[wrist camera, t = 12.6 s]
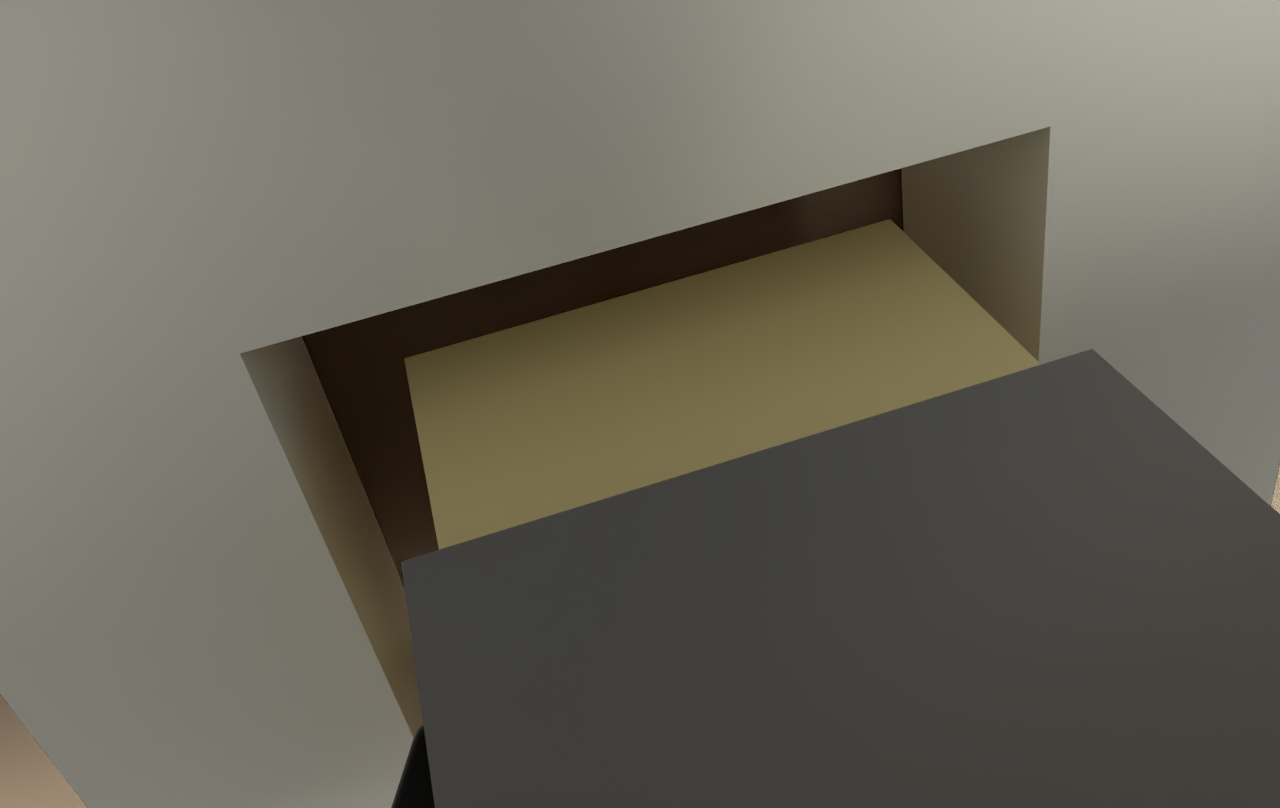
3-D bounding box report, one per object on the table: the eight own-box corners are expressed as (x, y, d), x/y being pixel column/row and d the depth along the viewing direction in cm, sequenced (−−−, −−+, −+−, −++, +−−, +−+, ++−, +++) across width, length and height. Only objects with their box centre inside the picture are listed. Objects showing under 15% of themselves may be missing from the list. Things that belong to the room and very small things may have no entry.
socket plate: (1074, 812, 18) (1172, 957, 16) (402, 1051, 17) (420, 1241, 15) (1233, -741, 8) (1568, -865, 6) (-511, -412, 6) (-861, -426, 4)
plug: (924, 578, 12) (1519, 1449, 6) (508, 713, 11) (742, 1795, 6) (913, 189, 9) (1923, 1084, 4) (371, 344, 9) (556, 1667, 3)
